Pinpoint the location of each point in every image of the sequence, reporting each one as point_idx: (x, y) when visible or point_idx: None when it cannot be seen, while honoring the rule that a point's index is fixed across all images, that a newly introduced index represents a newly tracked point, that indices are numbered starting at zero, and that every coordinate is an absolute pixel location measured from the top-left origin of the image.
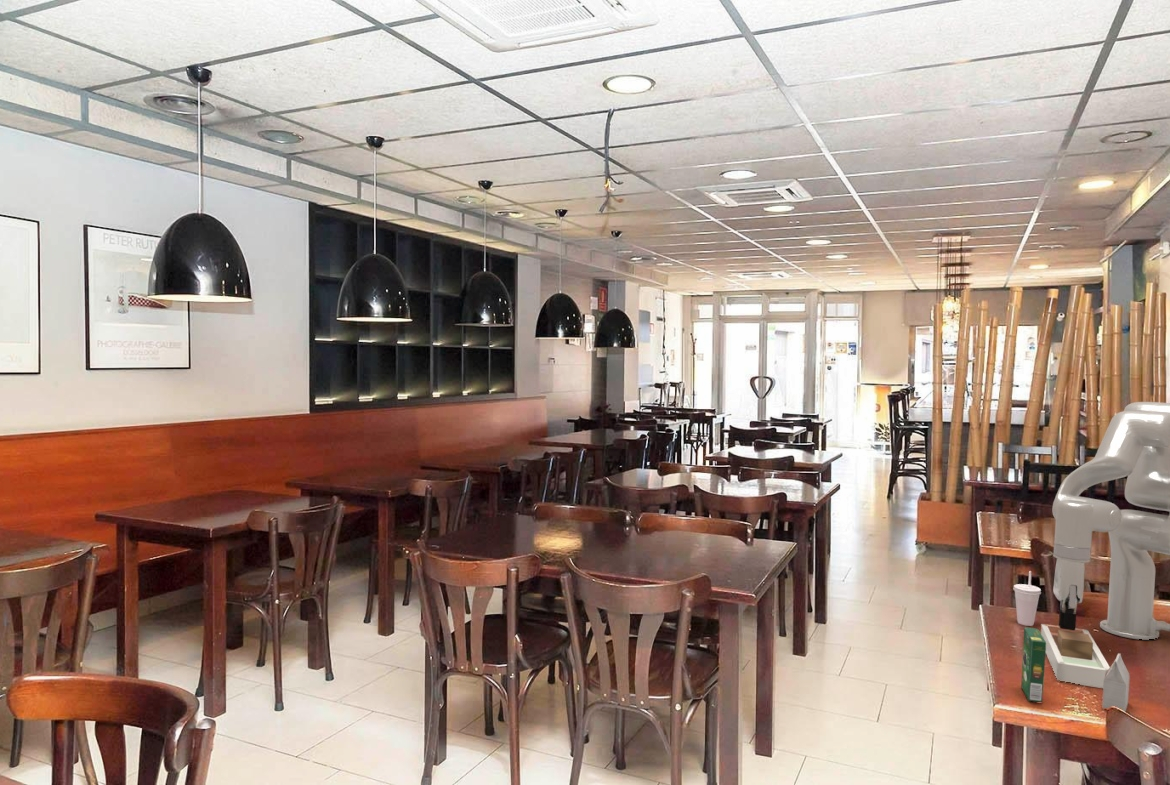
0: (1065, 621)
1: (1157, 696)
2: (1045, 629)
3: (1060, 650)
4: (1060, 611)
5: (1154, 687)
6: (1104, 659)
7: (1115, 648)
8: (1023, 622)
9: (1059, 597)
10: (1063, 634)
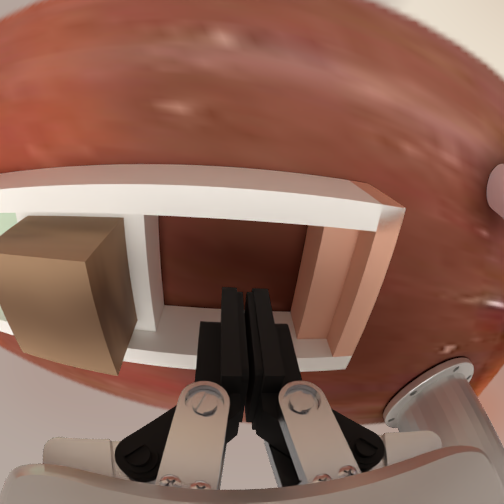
0: (199, 343)
1: (26, 357)
2: (305, 204)
3: (34, 221)
4: (232, 375)
5: (66, 373)
6: None
7: (325, 378)
8: (496, 176)
9: (6, 488)
10: (28, 272)
